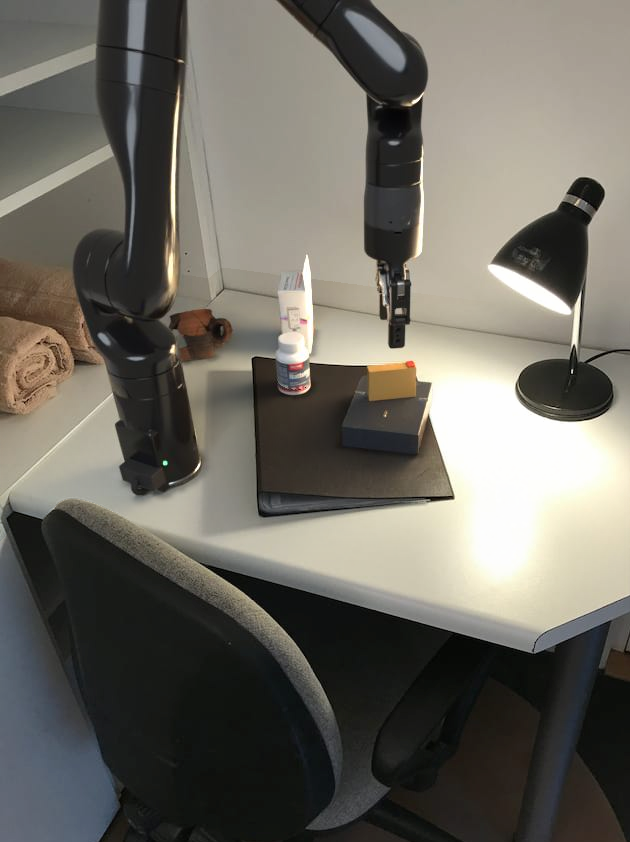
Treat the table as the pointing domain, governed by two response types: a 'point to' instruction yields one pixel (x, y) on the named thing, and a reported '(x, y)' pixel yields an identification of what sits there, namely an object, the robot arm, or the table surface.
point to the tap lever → (391, 381)
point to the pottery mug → (200, 333)
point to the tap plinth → (387, 420)
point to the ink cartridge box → (296, 303)
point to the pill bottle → (292, 363)
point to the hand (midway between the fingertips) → (391, 332)
